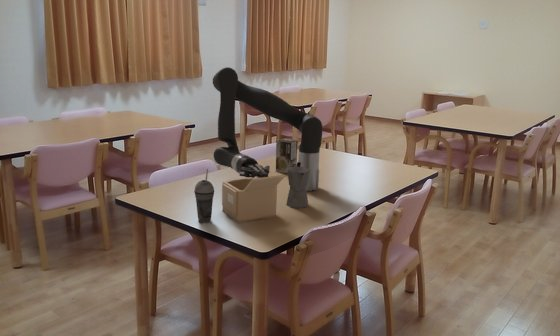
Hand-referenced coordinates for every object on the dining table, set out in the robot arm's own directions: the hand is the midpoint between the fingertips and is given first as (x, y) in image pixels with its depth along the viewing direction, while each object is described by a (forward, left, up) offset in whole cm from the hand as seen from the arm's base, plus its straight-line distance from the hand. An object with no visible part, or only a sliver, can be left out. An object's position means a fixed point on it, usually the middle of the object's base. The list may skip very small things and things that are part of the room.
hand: (266, 176), depth 180 cm
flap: (+3, -5, -6) cm, 9 cm away
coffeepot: (-13, -25, -18) cm, 33 cm away
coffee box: (-10, -75, -18) cm, 78 cm away
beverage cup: (+22, -3, -18) cm, 29 cm away
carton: (+6, -12, -18) cm, 23 cm away
